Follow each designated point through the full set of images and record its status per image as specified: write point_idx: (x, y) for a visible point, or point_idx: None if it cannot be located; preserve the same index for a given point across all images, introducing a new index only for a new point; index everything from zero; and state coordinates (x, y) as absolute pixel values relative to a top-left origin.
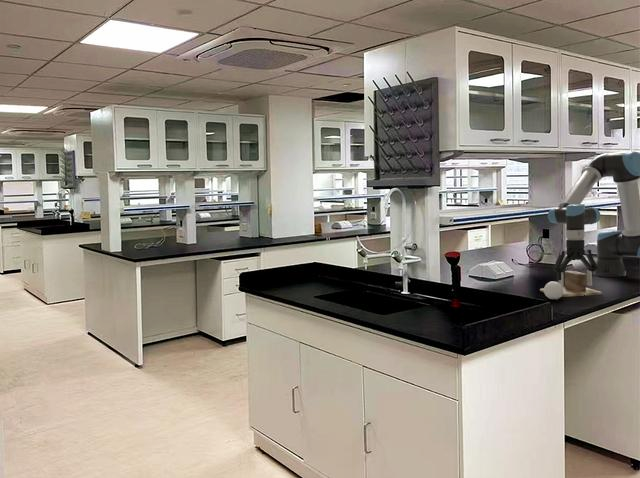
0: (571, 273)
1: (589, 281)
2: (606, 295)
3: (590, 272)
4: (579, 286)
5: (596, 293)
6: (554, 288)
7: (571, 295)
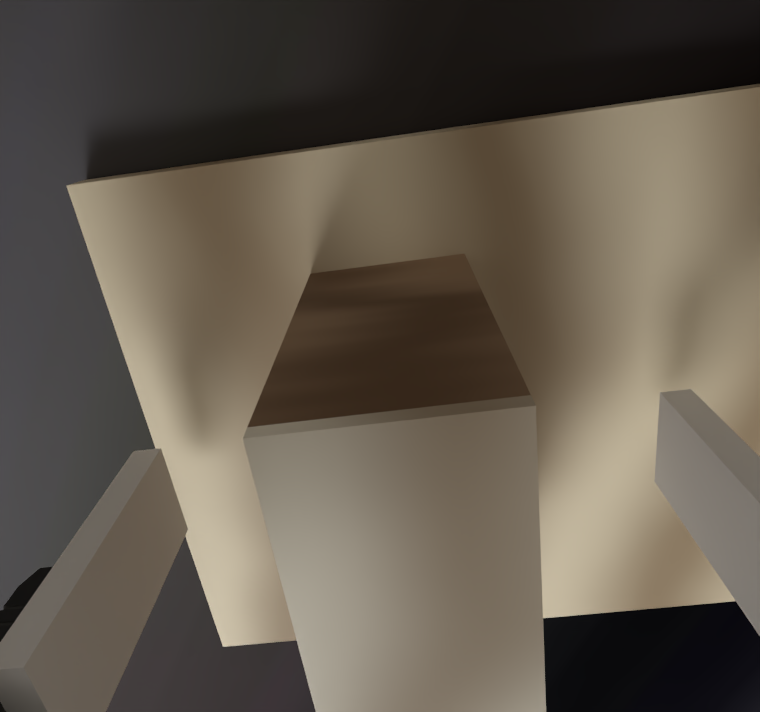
0: (539, 635)
1: (142, 515)
2: (31, 72)
3: (36, 645)
4: (432, 289)
5: (170, 168)
6: None
7: (640, 103)
